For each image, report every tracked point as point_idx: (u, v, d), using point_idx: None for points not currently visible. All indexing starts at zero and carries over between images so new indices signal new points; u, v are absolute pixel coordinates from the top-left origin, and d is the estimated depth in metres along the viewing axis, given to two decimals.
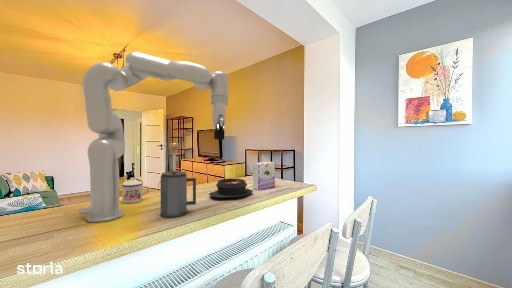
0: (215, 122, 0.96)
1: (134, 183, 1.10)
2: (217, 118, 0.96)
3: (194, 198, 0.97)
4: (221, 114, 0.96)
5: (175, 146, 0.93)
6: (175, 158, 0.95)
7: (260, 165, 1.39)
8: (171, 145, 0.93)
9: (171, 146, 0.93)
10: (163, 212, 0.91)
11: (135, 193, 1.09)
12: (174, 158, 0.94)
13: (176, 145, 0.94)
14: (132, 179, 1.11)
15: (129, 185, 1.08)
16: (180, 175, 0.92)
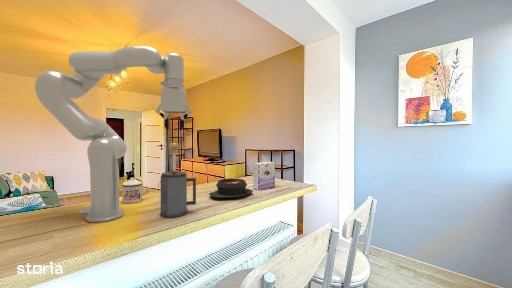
0: (186, 109, 0.93)
1: (134, 183, 1.10)
2: (186, 105, 0.94)
3: (194, 198, 0.97)
4: None
5: (175, 146, 0.93)
6: (175, 158, 0.95)
7: (260, 165, 1.39)
8: (171, 145, 0.93)
9: (171, 146, 0.93)
10: (163, 212, 0.91)
11: (135, 193, 1.09)
12: (174, 158, 0.94)
13: (176, 145, 0.94)
14: (132, 179, 1.11)
15: (129, 185, 1.08)
16: (180, 175, 0.92)
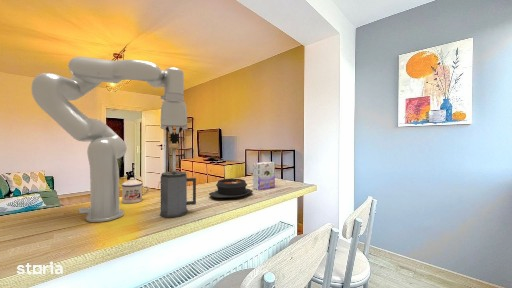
0: (186, 123, 0.94)
1: (134, 183, 1.10)
2: (186, 119, 0.94)
3: (194, 198, 0.97)
4: None
5: (175, 146, 0.93)
6: (175, 158, 0.95)
7: (260, 165, 1.39)
8: (171, 145, 0.93)
9: (171, 146, 0.93)
10: (163, 212, 0.91)
11: (135, 193, 1.09)
12: (174, 158, 0.94)
13: (176, 145, 0.94)
14: (132, 179, 1.11)
15: (129, 185, 1.08)
16: (180, 175, 0.92)
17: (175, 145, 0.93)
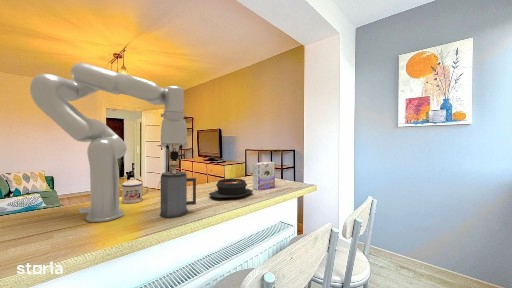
0: (186, 140, 0.94)
1: (134, 183, 1.10)
2: (186, 136, 0.95)
3: (194, 198, 0.97)
4: None
5: (175, 164, 0.93)
6: None
7: (260, 165, 1.39)
8: (171, 163, 0.93)
9: (171, 164, 0.93)
10: (163, 212, 0.91)
11: (135, 193, 1.09)
12: None
13: (176, 163, 0.94)
14: (132, 179, 1.11)
15: (129, 185, 1.08)
16: (180, 175, 0.92)
17: (175, 163, 0.93)
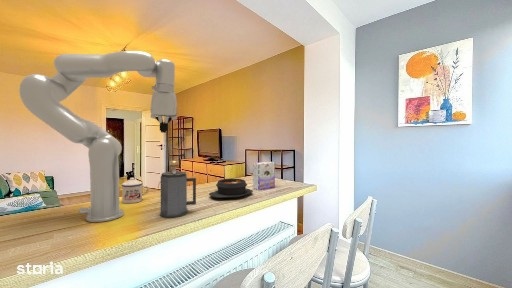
0: (175, 113, 0.97)
1: (134, 183, 1.10)
2: (176, 109, 0.98)
3: (194, 198, 0.97)
4: (175, 108, 0.99)
5: (175, 164, 0.93)
6: None
7: (260, 165, 1.39)
8: (171, 163, 0.93)
9: (171, 164, 0.93)
10: (163, 212, 0.91)
11: (135, 193, 1.09)
12: None
13: (176, 163, 0.94)
14: (132, 179, 1.11)
15: (129, 185, 1.08)
16: (180, 175, 0.92)
17: (175, 163, 0.93)
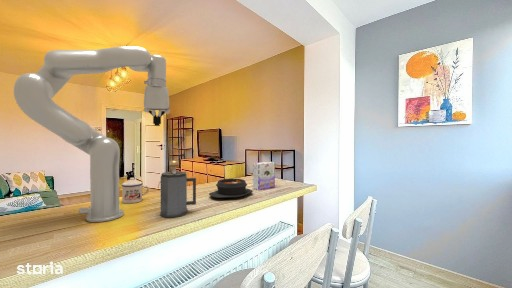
0: (168, 106, 1.01)
1: (134, 183, 1.10)
2: (168, 103, 1.02)
3: (194, 198, 0.97)
4: None
5: (175, 164, 0.93)
6: None
7: (260, 165, 1.39)
8: (171, 163, 0.93)
9: (171, 164, 0.93)
10: (163, 212, 0.91)
11: (135, 193, 1.09)
12: None
13: (176, 163, 0.94)
14: (132, 179, 1.11)
15: (129, 185, 1.08)
16: (180, 175, 0.92)
17: (175, 163, 0.93)
